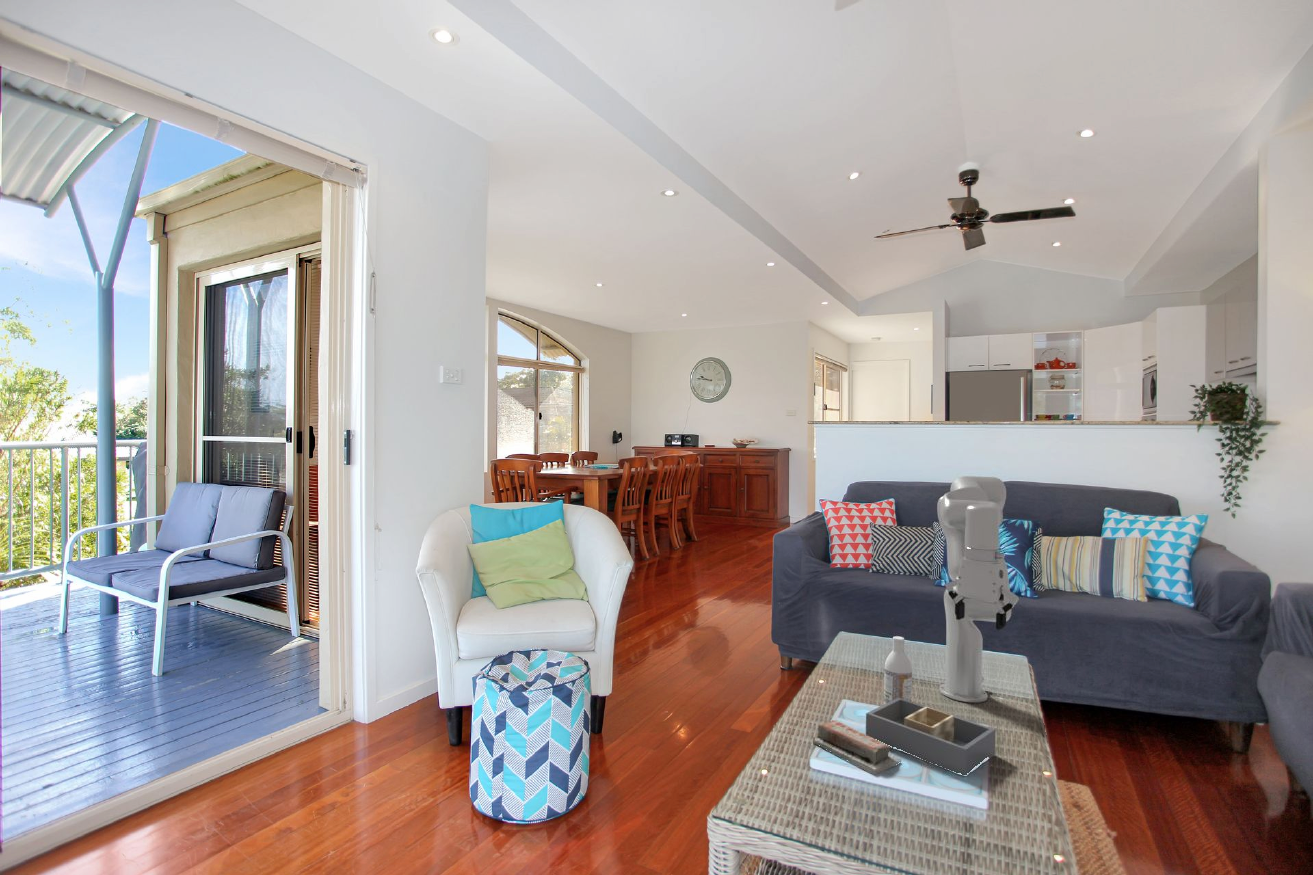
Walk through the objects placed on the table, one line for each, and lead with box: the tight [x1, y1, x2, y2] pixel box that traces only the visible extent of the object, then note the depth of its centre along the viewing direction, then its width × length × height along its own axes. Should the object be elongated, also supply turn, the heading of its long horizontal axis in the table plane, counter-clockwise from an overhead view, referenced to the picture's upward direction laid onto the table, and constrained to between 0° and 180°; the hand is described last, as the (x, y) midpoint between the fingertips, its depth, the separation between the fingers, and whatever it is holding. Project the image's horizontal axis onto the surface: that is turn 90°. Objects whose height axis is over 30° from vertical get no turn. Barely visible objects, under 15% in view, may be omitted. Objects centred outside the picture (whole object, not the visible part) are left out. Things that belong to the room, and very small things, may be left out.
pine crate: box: [904, 706, 955, 742], centre depth 155 cm, size 11×7×6 cm, turn 131°
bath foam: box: [883, 635, 913, 705], centre depth 175 cm, size 7×7×20 cm
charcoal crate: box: [865, 698, 996, 775], centre depth 155 cm, size 16×24×6 cm, turn 41°
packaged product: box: [812, 719, 902, 775], centre depth 151 cm, size 18×5×10 cm
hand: (979, 623), depth 160 cm, fingers open, 9 cm apart
